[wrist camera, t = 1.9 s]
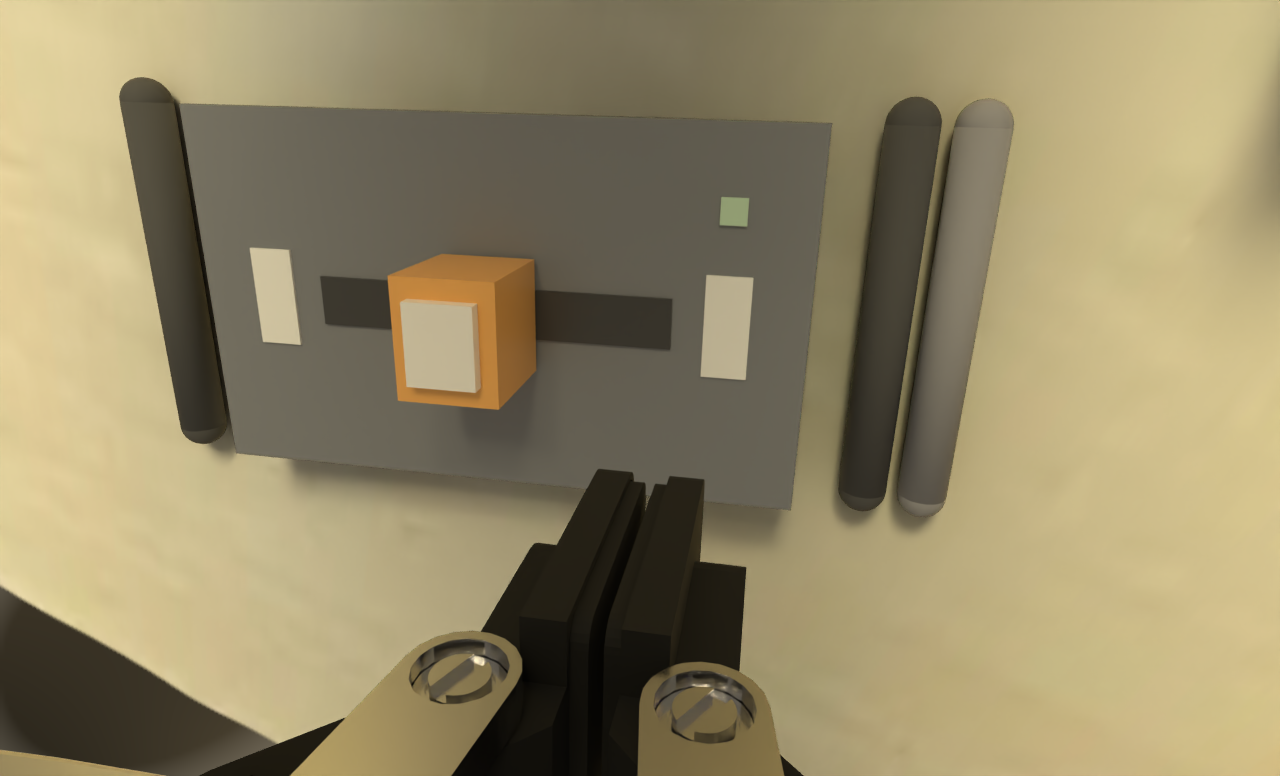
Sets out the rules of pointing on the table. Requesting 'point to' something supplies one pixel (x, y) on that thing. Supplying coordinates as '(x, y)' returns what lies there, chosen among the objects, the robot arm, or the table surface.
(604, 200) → the slider switch box
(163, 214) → the dark grey rounded rod
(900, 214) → the grey capsule
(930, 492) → the light grey rod
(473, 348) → the block
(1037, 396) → the table surface
